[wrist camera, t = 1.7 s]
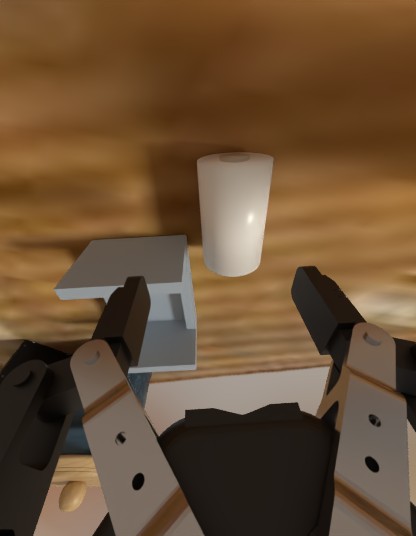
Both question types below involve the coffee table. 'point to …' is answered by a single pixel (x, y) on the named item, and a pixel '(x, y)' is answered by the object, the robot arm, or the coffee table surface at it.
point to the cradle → (159, 286)
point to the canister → (84, 454)
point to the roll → (233, 209)
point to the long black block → (31, 356)
